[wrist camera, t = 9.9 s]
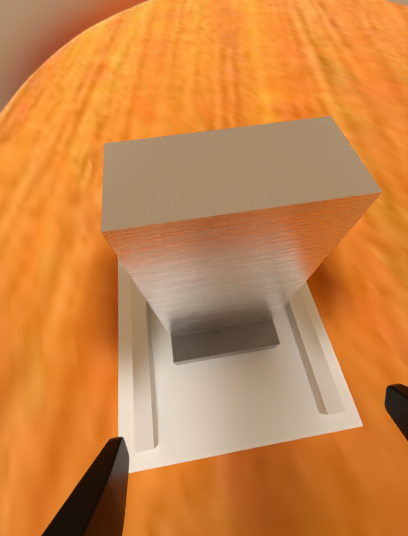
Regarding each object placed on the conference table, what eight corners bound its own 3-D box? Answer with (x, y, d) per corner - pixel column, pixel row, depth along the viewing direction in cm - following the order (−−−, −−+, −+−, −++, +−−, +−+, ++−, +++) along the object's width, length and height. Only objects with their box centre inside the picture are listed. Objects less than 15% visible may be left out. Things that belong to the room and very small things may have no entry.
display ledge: (350, 423, 15) (375, 428, 13) (126, 467, 15) (110, 482, 12) (274, 222, 23) (282, 202, 20) (123, 244, 22) (112, 226, 19)
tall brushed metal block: (274, 348, 16) (418, 245, 5) (176, 365, 16) (98, 295, 5) (251, 268, 19) (312, 88, 8) (167, 281, 18) (105, 111, 7)
